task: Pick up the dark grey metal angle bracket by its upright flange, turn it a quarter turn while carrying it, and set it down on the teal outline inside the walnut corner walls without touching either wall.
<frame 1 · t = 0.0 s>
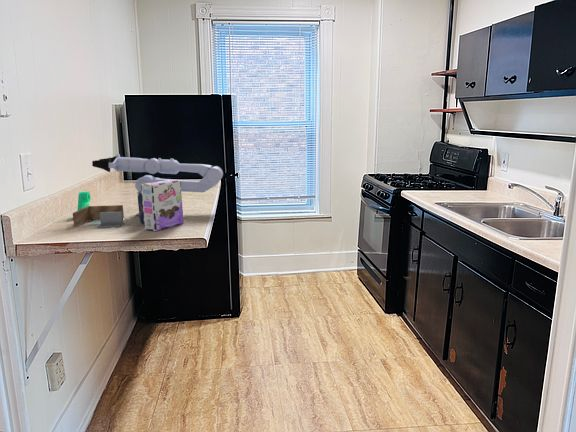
hand: (96, 162, 181), 22 cm above the counter, tool horizontal, fingers open, 7 cm apart
camera mount: (92, 216, 185), on the counter
corner walls: (100, 222, 172), on the counter
bracket: (112, 225, 167), on the counter
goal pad: (103, 222, 172), on the counter
candy box: (164, 227, 162), on the counter
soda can: (149, 223, 168), on the counter
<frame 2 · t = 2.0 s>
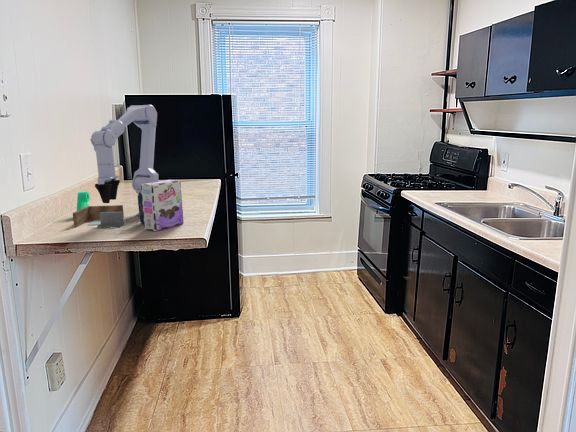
hand: (109, 201, 165), 9 cm above the counter, tool pointing down, fingers open, 7 cm apart
nothing on the counter moved.
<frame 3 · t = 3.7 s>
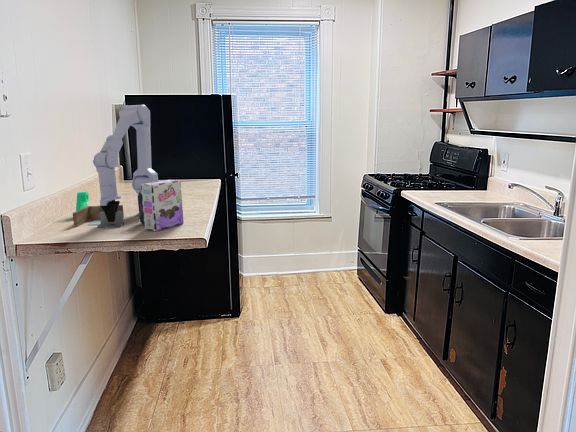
hand: (111, 221, 166), 1 cm above the counter, tool pointing down, fingers closed on bracket
bracket: (112, 225, 167), on the counter, touching gripper
everything else where it was.
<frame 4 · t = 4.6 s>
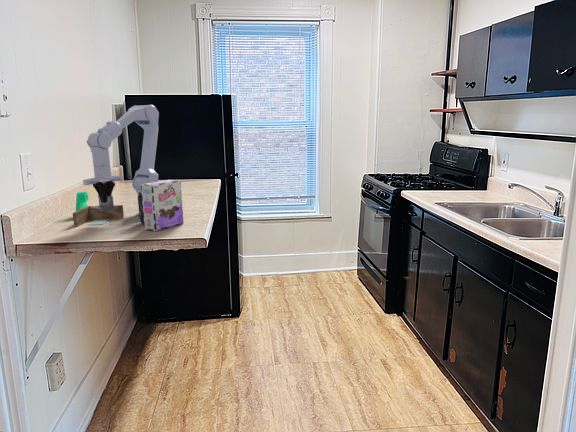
hand: (105, 202, 167), 8 cm above the counter, tool pointing down, fingers closed on bracket
bracket: (106, 208, 167), point 6 cm above the counter, touching gripper
everything else where it was.
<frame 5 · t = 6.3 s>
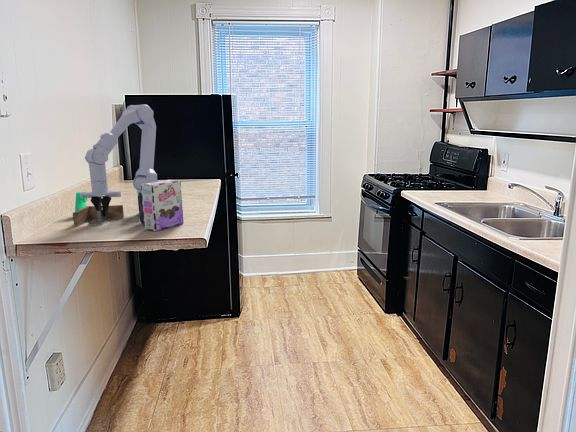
hand: (102, 216, 171), 2 cm above the counter, tool pointing down, fingers closed on bracket
bracket: (103, 221, 172), resting on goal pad, touching gripper
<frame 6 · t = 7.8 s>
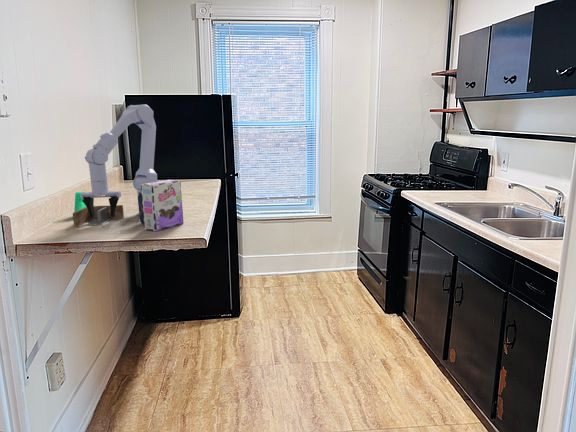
hand: (103, 216, 171), 2 cm above the counter, tool pointing down, fingers open, 7 cm apart
bracket: (103, 221, 172), resting on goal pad
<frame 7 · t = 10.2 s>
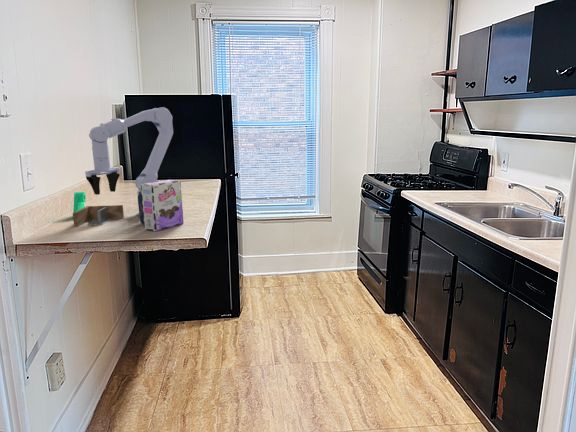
hand: (105, 192, 176), 10 cm above the counter, tool pointing down, fingers open, 7 cm apart
at the end: bracket 0.1 cm from the target spot, resting on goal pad; bracket tilted 0°; bracket touching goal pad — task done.
